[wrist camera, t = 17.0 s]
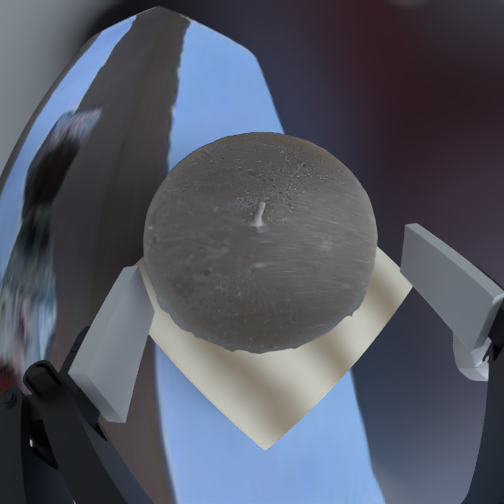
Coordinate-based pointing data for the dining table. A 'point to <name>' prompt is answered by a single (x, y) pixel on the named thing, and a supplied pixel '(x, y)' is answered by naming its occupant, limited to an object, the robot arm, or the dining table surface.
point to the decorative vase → (471, 360)
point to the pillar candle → (260, 242)
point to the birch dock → (279, 360)
